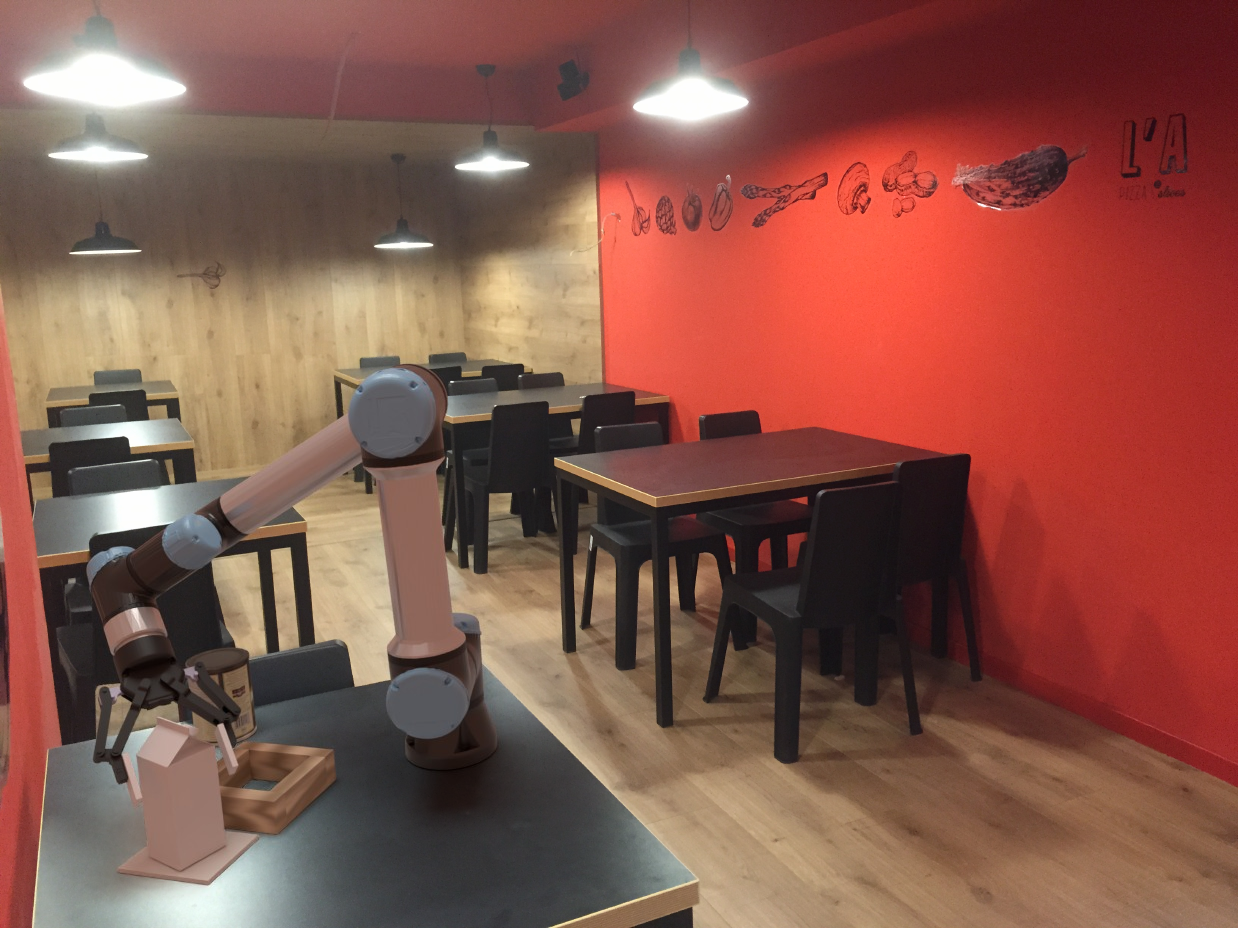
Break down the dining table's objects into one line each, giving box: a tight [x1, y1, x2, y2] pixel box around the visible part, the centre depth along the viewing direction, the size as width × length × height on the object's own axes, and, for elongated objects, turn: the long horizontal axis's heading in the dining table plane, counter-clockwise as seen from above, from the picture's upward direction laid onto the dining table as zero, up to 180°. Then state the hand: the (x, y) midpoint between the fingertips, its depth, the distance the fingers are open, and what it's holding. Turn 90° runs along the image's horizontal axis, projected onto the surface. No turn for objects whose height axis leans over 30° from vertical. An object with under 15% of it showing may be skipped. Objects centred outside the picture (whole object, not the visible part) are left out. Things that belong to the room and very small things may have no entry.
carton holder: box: [217, 740, 337, 835], centre depth 146 cm, size 16×16×5 cm
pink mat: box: [116, 830, 260, 886], centre depth 133 cm, size 14×11×1 cm
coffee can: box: [184, 647, 258, 748], centre depth 169 cm, size 10×10×14 cm
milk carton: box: [135, 716, 226, 871], centre depth 131 cm, size 7×7×19 cm
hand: (187, 785), depth 129 cm, fingers open, 11 cm apart
